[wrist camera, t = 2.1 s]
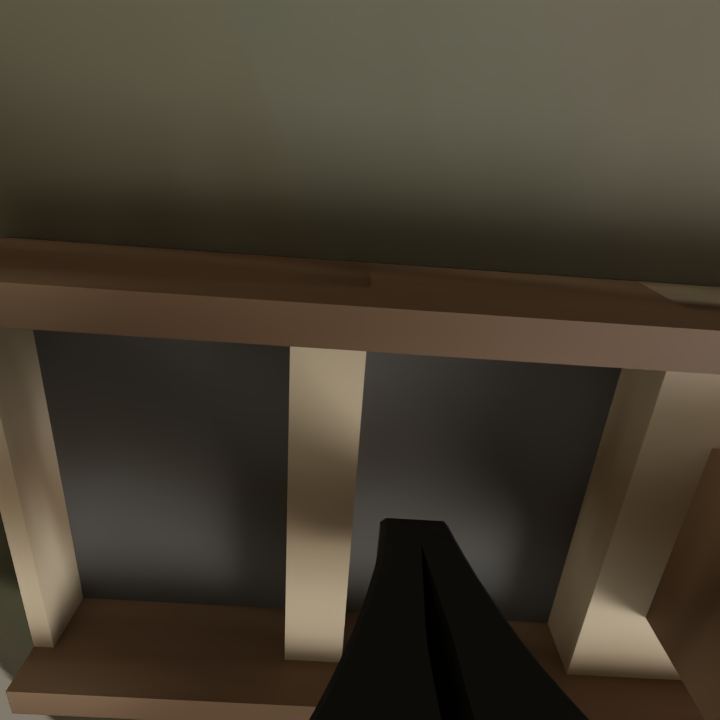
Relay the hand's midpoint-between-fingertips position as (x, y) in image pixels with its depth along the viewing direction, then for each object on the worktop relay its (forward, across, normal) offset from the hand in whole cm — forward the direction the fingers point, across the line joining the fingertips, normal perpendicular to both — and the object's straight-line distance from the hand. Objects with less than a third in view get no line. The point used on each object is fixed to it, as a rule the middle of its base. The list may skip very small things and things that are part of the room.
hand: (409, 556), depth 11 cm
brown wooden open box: (+3, -6, 0) cm, 7 cm away
